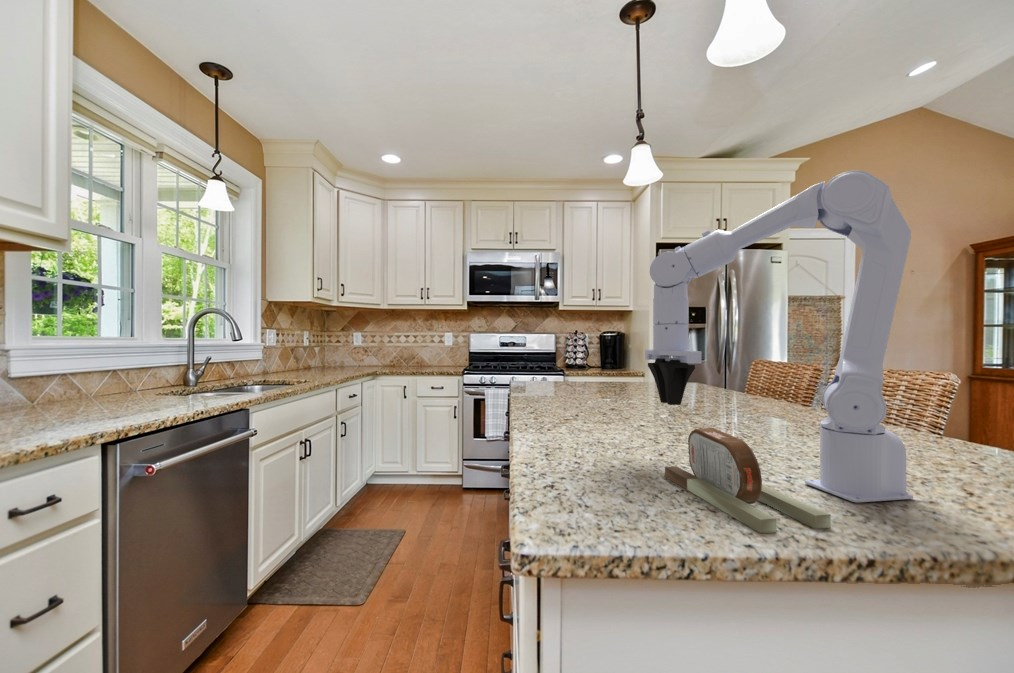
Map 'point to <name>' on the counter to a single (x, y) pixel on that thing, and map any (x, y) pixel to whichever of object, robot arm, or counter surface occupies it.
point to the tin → (725, 463)
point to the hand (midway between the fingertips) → (670, 403)
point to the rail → (746, 511)
